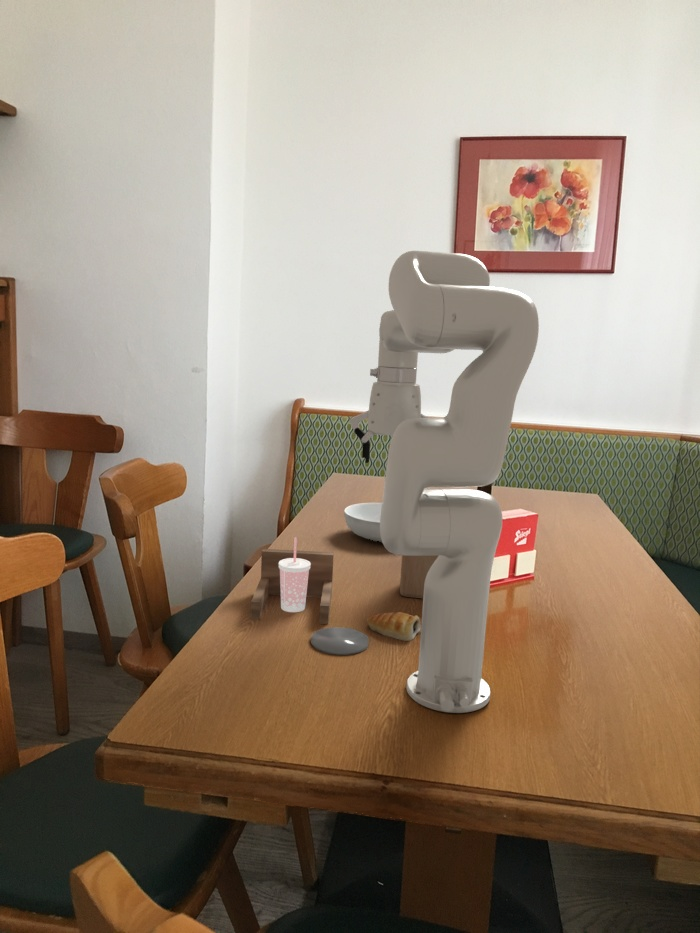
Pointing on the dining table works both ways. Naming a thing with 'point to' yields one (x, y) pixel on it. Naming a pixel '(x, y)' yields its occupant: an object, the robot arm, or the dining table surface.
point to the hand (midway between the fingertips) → (391, 463)
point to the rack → (316, 586)
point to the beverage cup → (293, 582)
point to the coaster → (339, 641)
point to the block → (415, 574)
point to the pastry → (396, 625)
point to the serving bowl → (364, 520)
